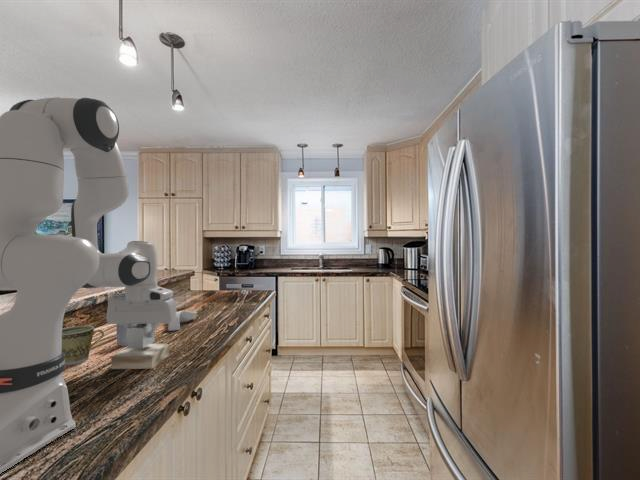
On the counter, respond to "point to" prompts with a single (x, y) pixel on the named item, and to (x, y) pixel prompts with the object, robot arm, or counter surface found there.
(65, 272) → the robot arm
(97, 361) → the counter surface
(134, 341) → the block
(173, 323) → the spoon rest
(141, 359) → the stand
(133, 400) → the counter surface
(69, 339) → the ceramic cup
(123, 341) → the medicine box
